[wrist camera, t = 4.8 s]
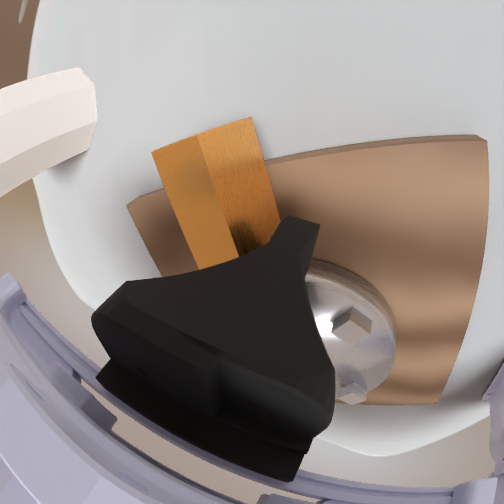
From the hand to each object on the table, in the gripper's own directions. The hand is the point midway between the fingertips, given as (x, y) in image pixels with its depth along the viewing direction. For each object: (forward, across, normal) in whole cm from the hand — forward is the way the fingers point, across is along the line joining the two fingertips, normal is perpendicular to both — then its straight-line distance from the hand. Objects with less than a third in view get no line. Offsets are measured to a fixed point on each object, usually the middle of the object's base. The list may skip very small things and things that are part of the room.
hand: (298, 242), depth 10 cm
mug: (+5, +23, -4) cm, 24 cm away
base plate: (+5, -2, +9) cm, 10 cm away
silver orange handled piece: (+3, 0, +5) cm, 6 cm away
